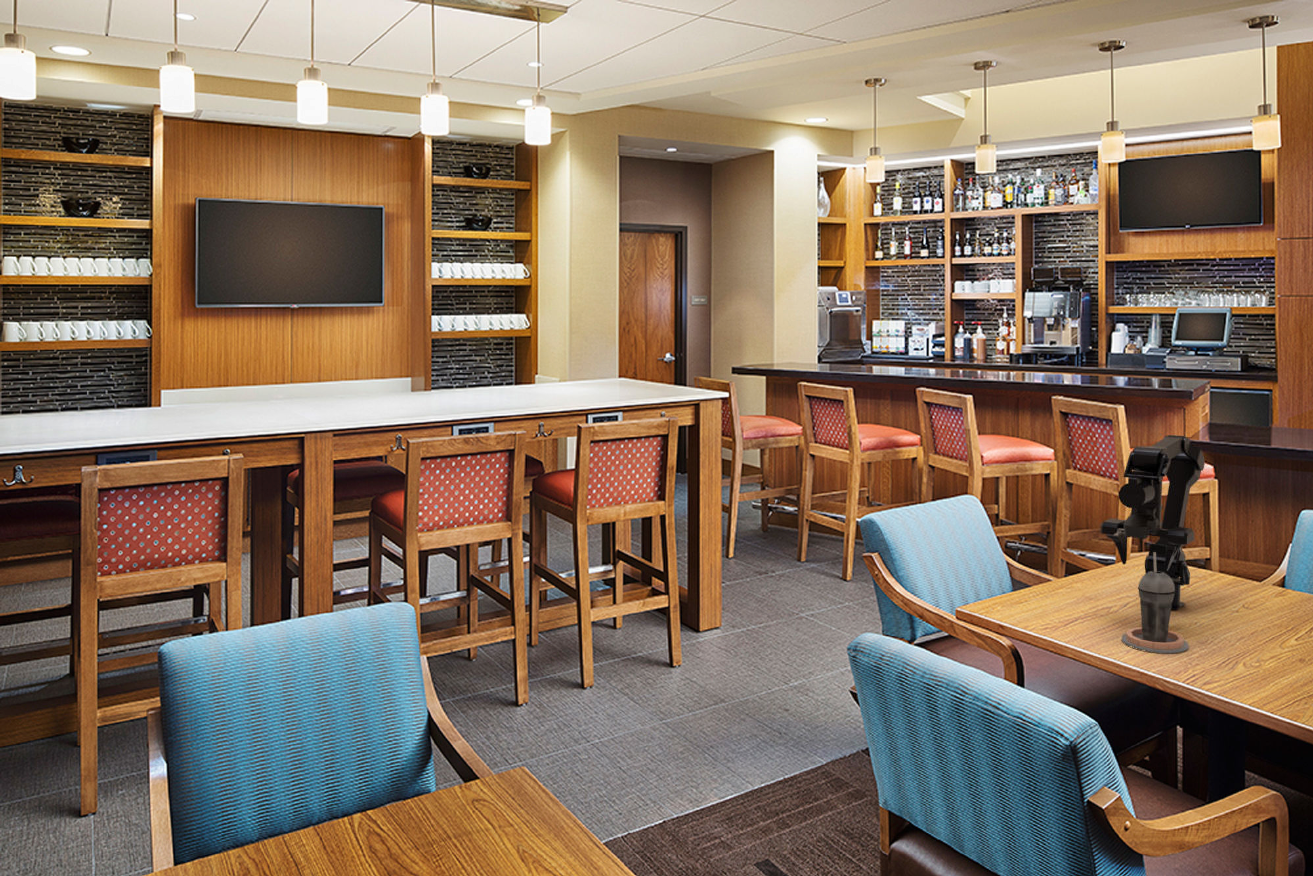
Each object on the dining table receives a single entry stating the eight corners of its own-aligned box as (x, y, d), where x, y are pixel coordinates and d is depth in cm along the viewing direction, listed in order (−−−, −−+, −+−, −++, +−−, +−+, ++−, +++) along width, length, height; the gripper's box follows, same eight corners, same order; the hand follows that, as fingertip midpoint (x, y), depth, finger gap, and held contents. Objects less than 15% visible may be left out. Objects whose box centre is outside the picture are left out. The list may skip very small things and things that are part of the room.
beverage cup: (1180, 642, 206) (1184, 552, 203) (1160, 648, 202) (1163, 557, 200) (1149, 633, 212) (1152, 545, 209) (1128, 639, 208) (1131, 550, 206)
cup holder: (1133, 629, 216) (1134, 622, 216) (1196, 642, 207) (1197, 634, 207) (1112, 644, 207) (1112, 636, 207) (1176, 658, 198) (1177, 650, 198)
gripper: (1092, 502, 219) (1090, 567, 221) (1180, 512, 206) (1177, 581, 208) (1110, 494, 227) (1108, 558, 229) (1196, 504, 214) (1193, 571, 216)
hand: (1145, 567), depth 220 cm, fingers open, 9 cm apart
